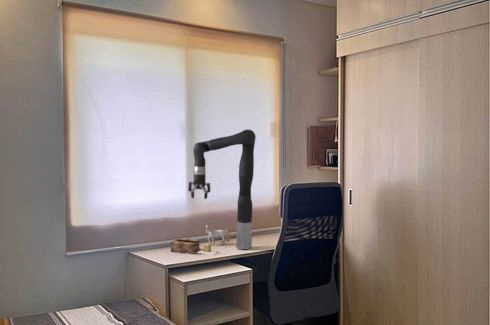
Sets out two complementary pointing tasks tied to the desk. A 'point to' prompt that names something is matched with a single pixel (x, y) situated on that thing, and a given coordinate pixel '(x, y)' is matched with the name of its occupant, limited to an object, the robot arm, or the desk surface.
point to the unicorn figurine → (217, 234)
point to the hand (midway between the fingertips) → (199, 198)
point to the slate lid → (207, 247)
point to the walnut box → (185, 245)
